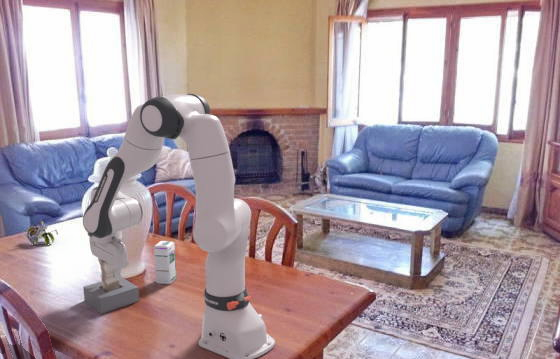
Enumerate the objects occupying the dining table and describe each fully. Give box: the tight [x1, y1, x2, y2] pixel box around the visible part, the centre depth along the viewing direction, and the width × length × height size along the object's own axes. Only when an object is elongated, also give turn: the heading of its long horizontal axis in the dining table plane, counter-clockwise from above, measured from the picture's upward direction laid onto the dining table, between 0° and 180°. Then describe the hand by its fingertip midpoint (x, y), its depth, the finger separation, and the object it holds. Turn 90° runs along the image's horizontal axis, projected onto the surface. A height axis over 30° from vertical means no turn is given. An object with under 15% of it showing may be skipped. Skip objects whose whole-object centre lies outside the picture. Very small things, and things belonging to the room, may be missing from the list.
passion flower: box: [25, 220, 59, 245], centre depth 221 cm, size 11×11×12 cm
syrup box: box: [153, 240, 178, 285], centre depth 179 cm, size 6×6×14 cm
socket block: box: [83, 276, 140, 315], centre depth 164 cm, size 13×13×5 cm
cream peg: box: [100, 260, 119, 292], centre depth 163 cm, size 4×4×14 cm
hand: (110, 274), depth 162 cm, fingers open, 8 cm apart
